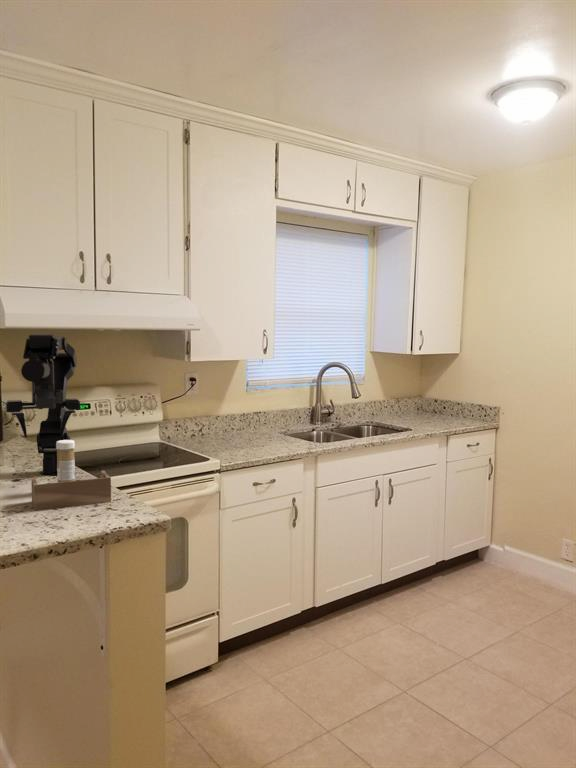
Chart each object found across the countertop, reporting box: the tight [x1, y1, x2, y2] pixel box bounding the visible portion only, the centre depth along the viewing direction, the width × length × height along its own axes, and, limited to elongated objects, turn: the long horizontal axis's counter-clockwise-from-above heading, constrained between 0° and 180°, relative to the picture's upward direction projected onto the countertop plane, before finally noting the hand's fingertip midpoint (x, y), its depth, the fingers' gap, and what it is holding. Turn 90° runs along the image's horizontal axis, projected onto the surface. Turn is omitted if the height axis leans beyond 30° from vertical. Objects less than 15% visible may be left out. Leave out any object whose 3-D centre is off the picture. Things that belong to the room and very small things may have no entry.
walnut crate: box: [30, 470, 112, 511], centre depth 148 cm, size 8×18×6 cm, turn 118°
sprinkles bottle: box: [56, 439, 76, 482], centre depth 157 cm, size 5×5×14 cm
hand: (43, 436), depth 164 cm, fingers open, 9 cm apart
